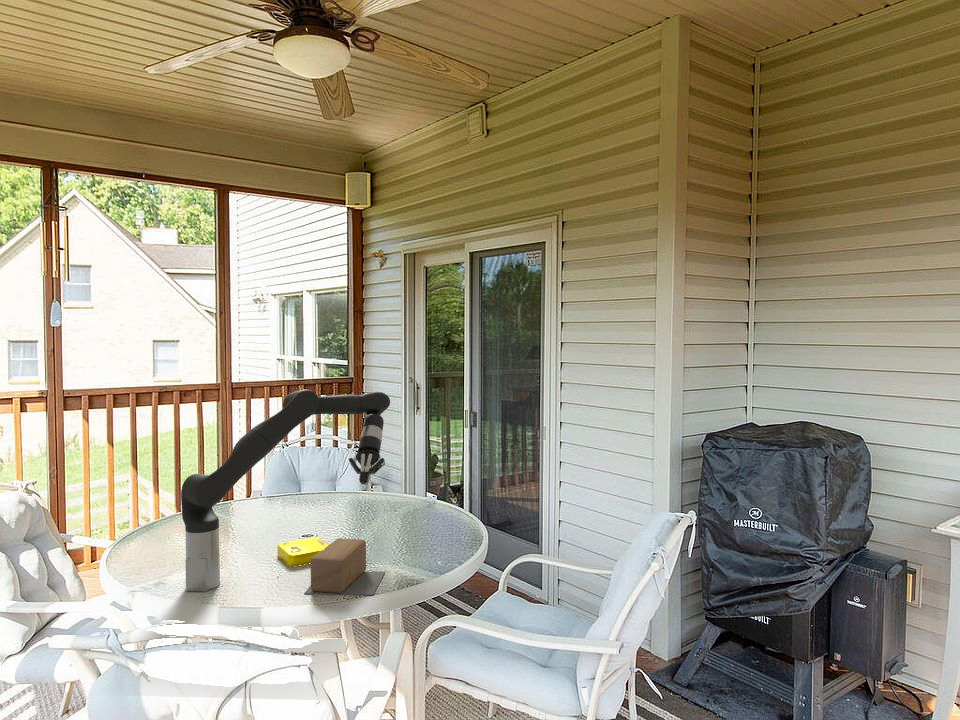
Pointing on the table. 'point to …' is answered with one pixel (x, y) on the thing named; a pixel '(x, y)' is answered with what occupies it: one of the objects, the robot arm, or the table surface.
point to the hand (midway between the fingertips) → (363, 483)
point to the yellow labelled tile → (300, 551)
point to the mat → (357, 585)
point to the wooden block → (338, 565)
